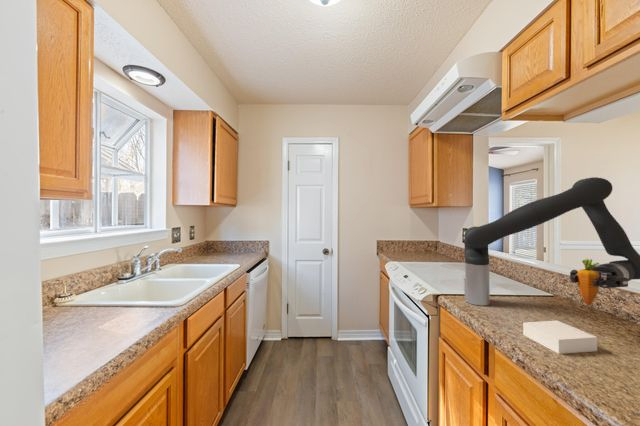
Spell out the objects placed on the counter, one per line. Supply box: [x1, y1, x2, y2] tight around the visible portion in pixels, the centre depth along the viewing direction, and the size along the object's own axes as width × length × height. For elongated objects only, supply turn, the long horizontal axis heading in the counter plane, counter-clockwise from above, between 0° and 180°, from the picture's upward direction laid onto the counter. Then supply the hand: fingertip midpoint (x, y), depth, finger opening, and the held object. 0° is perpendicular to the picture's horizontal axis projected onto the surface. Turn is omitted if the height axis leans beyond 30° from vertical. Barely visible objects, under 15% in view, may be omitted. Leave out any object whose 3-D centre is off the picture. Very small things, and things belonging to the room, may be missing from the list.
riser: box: [522, 320, 598, 355], centre depth 84 cm, size 12×12×4 cm
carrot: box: [577, 258, 600, 307], centre depth 87 cm, size 5×5×15 cm
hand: (584, 281), depth 86 cm, fingers closed on carrot, 4 cm apart
